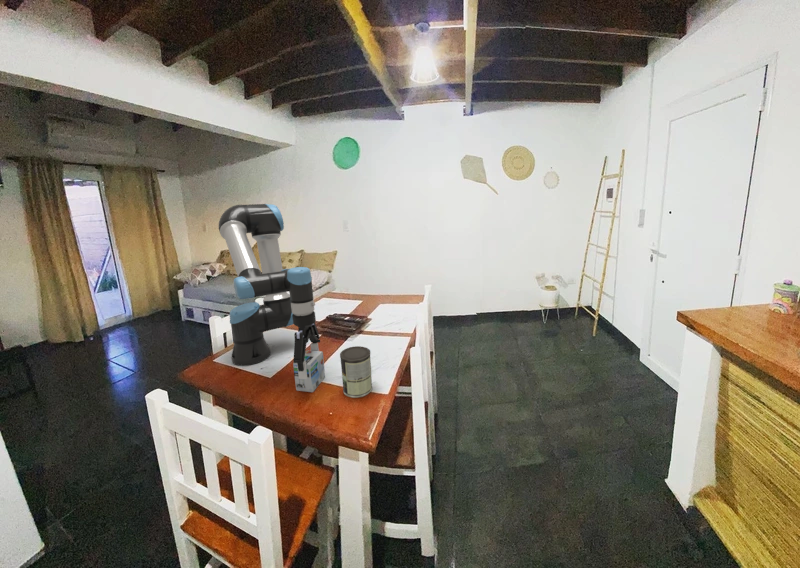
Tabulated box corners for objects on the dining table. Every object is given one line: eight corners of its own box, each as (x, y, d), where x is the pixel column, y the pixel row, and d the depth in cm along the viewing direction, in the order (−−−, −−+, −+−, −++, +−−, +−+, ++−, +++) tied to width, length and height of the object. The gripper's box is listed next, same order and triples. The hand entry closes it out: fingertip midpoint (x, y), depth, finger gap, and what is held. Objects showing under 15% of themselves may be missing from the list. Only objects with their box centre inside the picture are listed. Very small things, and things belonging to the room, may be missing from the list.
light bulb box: (313, 392, 109) (310, 364, 106) (295, 391, 110) (291, 363, 108) (326, 376, 119) (323, 350, 116) (309, 375, 120) (306, 349, 118)
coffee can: (336, 391, 109) (333, 355, 106) (356, 378, 117) (354, 343, 114) (358, 401, 103) (356, 363, 100) (378, 386, 111) (376, 350, 108)
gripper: (301, 325, 95) (308, 387, 100) (324, 301, 120) (329, 352, 125) (277, 325, 96) (285, 387, 101) (305, 302, 120) (311, 352, 125)
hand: (309, 368), depth 113 cm, fingers open, 13 cm apart
